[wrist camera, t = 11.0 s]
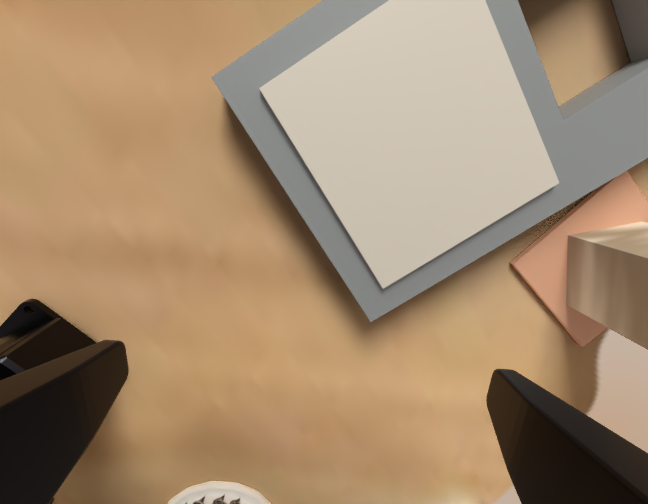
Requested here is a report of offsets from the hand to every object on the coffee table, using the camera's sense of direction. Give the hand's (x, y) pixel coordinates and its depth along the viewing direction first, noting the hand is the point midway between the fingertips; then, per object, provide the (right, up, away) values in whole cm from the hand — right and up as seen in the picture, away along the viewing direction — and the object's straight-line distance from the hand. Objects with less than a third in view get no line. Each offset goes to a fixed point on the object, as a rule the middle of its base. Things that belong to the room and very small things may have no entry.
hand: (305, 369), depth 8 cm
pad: (+17, +2, +13) cm, 22 cm away
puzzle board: (+8, +11, +10) cm, 17 cm away
